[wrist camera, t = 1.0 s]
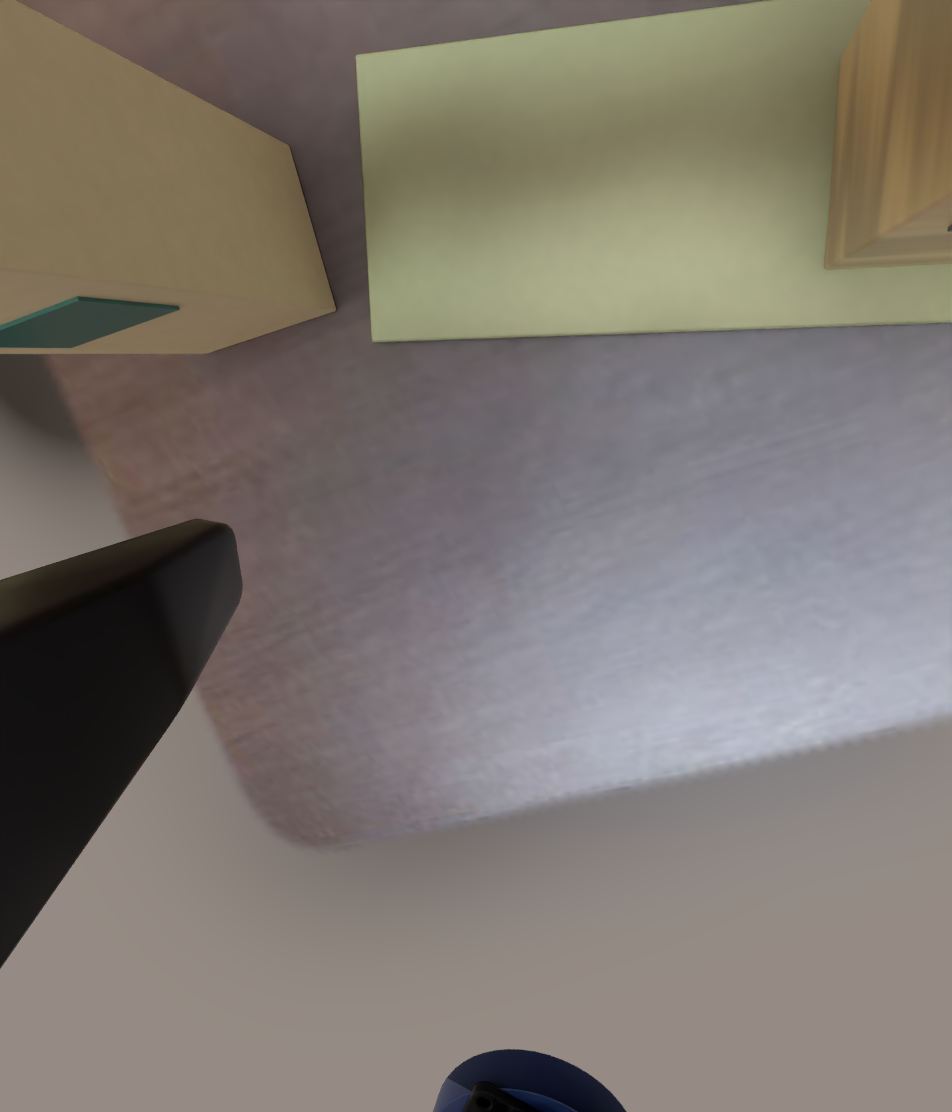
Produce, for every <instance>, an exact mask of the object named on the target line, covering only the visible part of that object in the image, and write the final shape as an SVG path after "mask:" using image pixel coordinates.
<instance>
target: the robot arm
mask: <svg viewBox="0 0 952 1112" xmlns="http://www.w3.org/2000/svg"><path fill="white" fill-rule="evenodd" d="M241 595H242V576H241V570H240V564H239V557H238V551H237V545H236V539H235V535H234V532H233V530H232V529H231V528H230V527H229V526H228V525H227V524H224V523H218V522H213V521H208V520H202V519H193V520H189V521H186V522H183V523H180V524H177V525H173V526H170V527H167V528H164V529H161V530H158V531H154V532H151V533H148V534H145V535H142V536H139V537H135V538H132V539H129V540H126V541H123V542H120V543H116V544H113V545H110V546H107V547H104V548H101V549H98V550H94V551H91V552H88V553H85V554H81V555H78V556H75V557H72V558H69V559H66V560H62V561H60V562H56V563H53V564H50V565H47V566H44V567H40V568H37V569H34V570H31V571H28V572H24V573H22V574H18V575H15V576H12V577H9V578H5V579H2V580H0V968H1V967H2V966H3V964H4V963H5V961H6V960H7V958H8V957H9V956H10V954H11V953H12V951H13V950H14V948H15V947H16V946H17V944H18V943H19V941H20V940H21V938H22V937H23V936H24V934H25V933H26V931H27V930H28V928H29V927H30V925H31V924H32V923H33V921H34V920H35V918H36V917H37V915H38V914H39V912H40V911H41V910H42V908H43V907H44V905H45V904H46V902H47V901H48V900H49V898H50V897H51V895H52V894H53V892H54V891H55V890H56V888H57V887H58V885H59V884H60V882H61V881H62V880H63V878H64V877H65V875H66V874H67V872H68V871H69V869H70V868H71V866H72V865H73V864H74V862H75V861H76V859H77V858H78V857H79V855H80V854H81V852H82V850H83V849H84V848H85V846H86V845H87V844H88V842H89V841H90V839H91V838H92V836H93V835H94V833H95V832H96V831H97V829H98V828H99V826H100V825H101V823H102V822H103V821H104V819H105V818H106V816H107V815H108V813H109V812H110V811H111V809H112V808H113V806H114V805H115V803H116V802H117V800H118V799H119V798H120V796H121V795H122V793H123V792H124V790H125V789H126V788H127V786H128V785H129V783H130V782H131V780H132V779H133V777H134V776H135V775H136V773H137V771H138V770H139V769H140V767H141V766H142V764H143V763H144V762H145V760H146V759H147V757H148V756H149V755H150V753H151V752H152V750H153V749H154V747H155V746H156V744H157V743H158V742H159V740H160V739H161V737H162V735H163V734H164V733H165V732H166V730H167V729H168V727H169V726H170V724H171V723H172V721H173V720H174V718H175V717H176V715H177V714H178V712H179V711H180V709H181V707H182V706H183V704H184V702H185V701H186V699H187V697H188V696H189V694H190V692H191V691H192V689H193V687H194V685H195V683H196V681H197V680H198V678H199V676H200V674H201V672H202V670H203V669H204V667H205V665H206V663H207V661H208V659H209V658H210V656H211V654H212V652H213V650H214V648H215V647H216V645H217V643H218V641H219V639H220V637H221V636H222V634H223V632H224V630H225V628H226V626H227V625H228V623H229V621H230V619H231V617H232V615H233V614H234V612H235V610H236V608H237V606H238V604H239V602H240V599H241ZM486 1098H487V1099H486ZM461 1112H542V1111H540V1110H538V1109H536V1108H534V1107H532V1106H531V1105H529V1104H527V1103H525V1102H523V1101H521V1100H520V1099H518V1098H516V1097H514V1096H512V1095H510V1094H509V1093H507V1092H505V1091H503V1090H501V1089H500V1088H498V1087H496V1086H494V1085H492V1084H490V1083H487V1082H480V1083H477V1084H476V1085H475V1086H474V1088H473V1090H472V1092H471V1093H470V1095H469V1097H468V1099H467V1101H466V1103H465V1105H464V1107H463V1109H462V1111H461Z"/></svg>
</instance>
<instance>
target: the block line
mask: <svg viewBox="0 0 952 1112" xmlns="http://www.w3.org/2000/svg"><path fill="white" fill-rule="evenodd" d="M356 72H357V89H358V106H359V124H360V141H361V159H362V176H363V193H364V211H365V228H366V246H367V263H368V280H369V298H370V315H371V333H372V341H373V342H379V343H382V342H411V341H440V340H469V339H498V338H527V337H556V336H585V335H614V334H643V333H672V332H701V331H730V330H759V329H788V328H817V327H846V326H875V325H904V324H933V323H952V0H767V1H759V2H752V3H744V4H737V5H729V6H722V7H714V8H706V9H699V10H691V11H684V12H676V13H669V14H661V15H654V16H646V17H639V18H631V19H623V20H616V21H608V22H601V23H593V24H586V25H578V26H571V27H563V28H555V29H548V30H540V31H533V32H525V33H518V34H510V35H503V36H495V37H488V38H480V39H472V40H465V41H457V42H450V43H442V44H435V45H427V46H420V47H412V48H405V49H397V50H389V51H382V52H374V53H367V54H359V55H356Z"/></svg>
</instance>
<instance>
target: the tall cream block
mask: <svg viewBox="0 0 952 1112" xmlns="http://www.w3.org/2000/svg"><path fill="white" fill-rule="evenodd" d="M334 311H336V307H335V303H334V300H333V296H332V293H331V289H330V286H329V282H328V279H327V275H326V272H325V269H324V265H323V262H322V258H321V255H320V251H319V248H318V244H317V241H316V237H315V234H314V230H313V227H312V223H311V220H310V216H309V213H308V209H307V206H306V202H305V199H304V196H303V192H302V189H301V185H300V182H299V178H298V175H297V171H296V168H295V164H294V161H293V157H292V154H291V150H290V147H289V145H287V144H285V143H283V142H281V141H279V140H277V139H276V138H274V137H272V136H270V135H268V134H266V133H264V132H262V131H260V130H259V129H257V128H255V127H253V126H251V125H249V124H247V123H245V122H244V121H242V120H240V119H238V118H236V117H234V116H232V115H230V114H229V113H227V112H225V111H223V110H221V109H219V108H217V107H215V106H213V105H212V104H210V103H208V102H206V101H204V100H202V99H200V98H198V97H197V96H195V95H193V94H191V93H189V92H187V91H185V90H183V89H182V88H180V87H178V86H176V85H174V84H172V83H170V82H168V81H166V80H165V79H163V78H161V77H159V76H157V75H155V74H153V73H151V72H150V71H148V70H146V69H144V68H142V67H140V66H138V65H136V64H134V63H133V62H131V61H129V60H127V59H125V58H123V57H121V56H119V55H118V54H116V53H114V52H112V51H110V50H108V49H106V48H104V47H103V46H101V45H99V44H97V43H95V42H93V41H91V40H89V39H87V38H86V37H84V36H82V35H80V34H78V33H76V32H74V31H72V30H71V29H69V28H67V27H65V26H63V25H61V24H59V23H57V22H55V21H54V20H52V19H50V18H48V17H46V16H44V15H42V14H40V13H39V12H37V11H35V10H33V9H31V8H29V7H27V6H25V5H24V4H22V3H20V2H18V1H16V0H0V354H207V353H210V352H213V351H216V350H219V349H222V348H225V347H228V346H231V345H235V344H238V343H241V342H244V341H247V340H250V339H253V338H256V337H259V336H262V335H265V334H268V333H271V332H274V331H277V330H280V329H283V328H286V327H289V326H292V325H295V324H298V323H301V322H304V321H307V320H310V319H313V318H316V317H319V316H322V315H325V314H328V313H331V312H334Z"/></svg>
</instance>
